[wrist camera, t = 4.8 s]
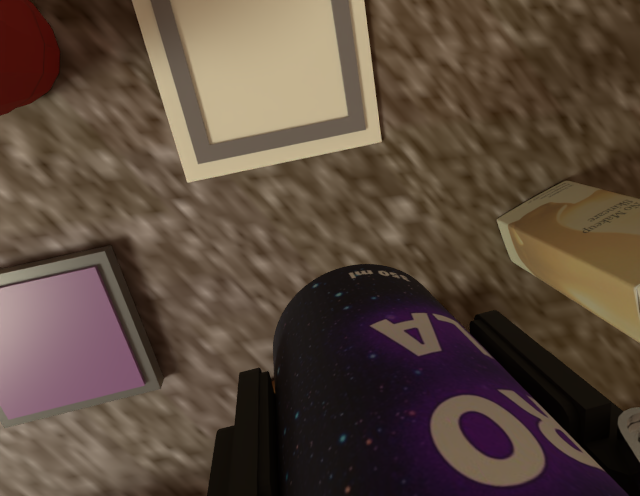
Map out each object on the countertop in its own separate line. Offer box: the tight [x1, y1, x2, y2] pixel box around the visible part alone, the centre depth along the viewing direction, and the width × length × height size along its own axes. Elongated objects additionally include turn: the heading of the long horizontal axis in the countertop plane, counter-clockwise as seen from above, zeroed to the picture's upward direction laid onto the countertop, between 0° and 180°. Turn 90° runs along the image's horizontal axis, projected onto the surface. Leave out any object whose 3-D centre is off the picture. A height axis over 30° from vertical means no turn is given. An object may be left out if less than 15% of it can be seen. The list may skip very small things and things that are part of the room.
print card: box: [132, 0, 382, 183], centre depth 24 cm, size 13×13×1 cm
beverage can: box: [273, 264, 629, 496], centre depth 8 cm, size 6×6×12 cm
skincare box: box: [497, 181, 640, 343], centre depth 25 cm, size 6×4×12 cm
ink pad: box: [0, 245, 164, 428], centre depth 27 cm, size 11×11×2 cm
